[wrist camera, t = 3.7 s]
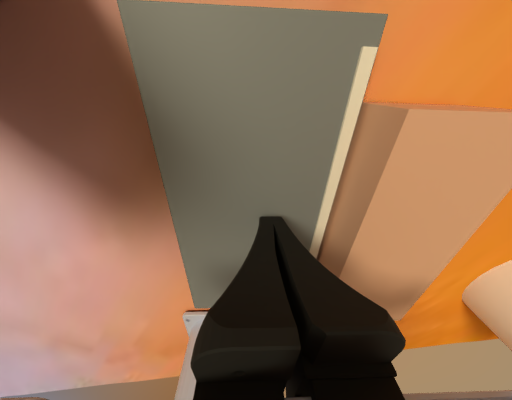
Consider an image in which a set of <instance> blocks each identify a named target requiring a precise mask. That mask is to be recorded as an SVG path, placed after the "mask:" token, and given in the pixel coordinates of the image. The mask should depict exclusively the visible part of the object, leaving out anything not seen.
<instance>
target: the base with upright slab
mask: <svg viewBox="0 0 512 400" xmlns="http://www.w3.org/2000/svg"><path fill="white" fill-rule="evenodd" d="M462 301H463V302H464V303H465V304H466V305H467V306H468V307H469V308H470V309H471V310H472V312H473V313H474V314H475V315H476V316H477V317H478V318H479V319H480V320H481V321H482V322H483V323H484V324H485V325H486V326H487V327H488V328H489V329H490V330H491V331H492V332H493V333H494V334H495V335H496V336H497V337H498V338H499V339H501V340H502V342H503V343H504V344H505V345H506V346H508V348H509V349H510V350H511V351H512V260H511V261H508V262H506V263H504V264H501V265H499V266H497V267H494V268H493V269H491V270H489V271H487V272H485V273H484V274H482V275H481V276H479V277H478V278H477V279H475V280H474V281H472V282H471V283H470V285H469V286H468V287H467V288H466V289H465V291H464V292H463V294H462Z"/></svg>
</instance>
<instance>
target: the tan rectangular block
mask: <svg viewBox="0 0 512 400" xmlns="http://www.w3.org/2000/svg"><path fill="white" fill-rule="evenodd" d="M511 188H512V109H500V108H488V107H475V106H463V105H436V104H407V103H378V102H362V105H361V109H360V112H359V116H358V119H357V122H356V126H355V129H354V133H353V136H352V140H351V143H350V146H349V150H348V153H347V157H346V160H345V164H344V167H343V170H342V174H341V177H340V181H339V184H338V187H337V191H336V194H335V198H334V201H333V205H332V208H331V211H330V215H329V218H328V222H327V225H326V229H325V232H324V235H323V239H322V242H321V246H320V249H319V252H318V256H317V260H318V261H319V262H320V263H321V264H322V265H323V266H324V267H326V268H327V269H328V270H329V271H330V272H332V273H333V274H334V275H335V276H337V277H338V278H339V279H340V280H342V281H343V282H344V283H346V284H347V285H349V286H350V287H351V288H353V289H354V290H356V291H357V292H359V293H360V294H362V295H363V296H365V297H366V298H368V299H370V300H371V301H373V302H374V303H376V304H378V305H379V306H381V307H383V308H384V309H386V310H387V312H388V313H389V314H390V316H391V317H392V319H393V320H401V319H402V318H403V317H404V315H405V314H406V313H407V312H408V311H409V309H410V308H411V307H412V306H413V305H414V303H415V302H416V301H417V300H418V299H419V298H420V296H421V295H422V294H423V293H424V292H425V290H426V289H427V288H428V287H429V286H430V284H431V283H432V282H433V281H434V280H435V279H436V277H437V276H438V275H439V274H440V273H441V271H442V270H443V269H444V268H445V267H446V266H447V264H448V263H449V262H450V261H451V260H452V258H453V257H454V256H455V255H456V254H457V252H458V251H459V250H460V249H461V248H462V247H463V245H464V244H465V243H466V242H467V241H468V239H469V238H470V237H471V236H472V235H473V233H474V232H475V231H476V230H477V229H478V228H479V226H480V225H481V224H482V223H483V222H484V220H485V219H486V218H487V217H488V216H489V214H490V213H491V212H492V211H493V210H494V209H495V207H496V206H497V205H498V204H499V203H500V201H501V200H502V199H503V198H504V197H505V196H506V194H507V193H508V192H509V191H510V190H511Z"/></svg>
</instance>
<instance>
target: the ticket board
mask: <svg viewBox="0 0 512 400" xmlns="http://www.w3.org/2000/svg"><path fill="white" fill-rule="evenodd" d="M117 3H118V7H119V11H120V15H121V19H122V23H123V27H124V31H125V35H126V39H127V42H128V46H129V50H130V54H131V58H132V62H133V66H134V70H135V74H136V78H137V82H138V86H139V90H140V94H141V98H142V102H143V106H144V109H145V113H146V117H147V121H148V125H149V129H150V133H151V137H152V141H153V145H154V149H155V153H156V157H157V161H158V165H159V169H160V173H161V177H162V180H163V184H164V188H165V192H166V196H167V200H168V204H169V208H170V212H171V216H172V220H173V224H174V228H175V232H176V236H177V240H178V244H179V247H180V251H181V255H182V259H183V263H184V267H185V271H186V275H187V279H188V283H189V287H190V291H191V295H192V299H193V303H194V307H195V308H211V307H212V306H213V305H214V304H215V302H216V301H217V300H218V299H219V298H220V296H221V295H222V294H223V293H224V291H225V290H226V289H227V287H228V286H229V285H230V283H231V282H232V280H233V279H234V278H235V276H236V274H237V273H238V271H239V270H240V268H241V266H242V265H243V263H244V261H245V259H246V257H247V255H248V253H249V251H250V249H251V247H252V244H253V242H254V240H255V237H256V234H257V230H258V226H259V218H260V217H261V216H281V217H282V218H283V219H284V221H285V222H286V224H287V225H288V227H289V228H290V229H291V231H292V232H293V233H294V235H295V236H296V237H297V238H298V240H299V241H300V242H301V243H302V244H303V246H304V247H305V248H306V249H307V250H308V251H309V252H310V253H311V254H312V255H313V256H314V257H315V258H316V259H317V256H318V252H319V249H320V246H321V242H322V239H323V235H324V232H325V229H326V225H327V222H328V218H329V215H330V211H331V208H332V205H333V201H334V198H335V194H336V191H337V187H338V184H339V181H340V177H341V174H342V170H343V167H344V164H345V160H346V157H347V153H348V150H349V146H350V143H351V140H352V136H353V133H354V129H355V126H356V122H357V119H358V116H359V112H360V109H361V105H362V102H363V99H364V95H365V92H366V88H367V85H368V81H369V78H370V75H371V71H372V68H373V64H374V61H375V57H376V54H377V51H378V47H379V44H380V40H381V37H382V34H383V30H384V27H385V23H386V20H387V16H388V14H377V13H359V12H340V11H322V10H304V9H286V8H268V7H250V6H231V5H213V4H195V3H177V2H159V1H141V0H117Z"/></svg>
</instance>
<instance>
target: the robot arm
mask: <svg viewBox="0 0 512 400" xmlns="http://www.w3.org/2000/svg"><path fill="white" fill-rule="evenodd" d="M183 320H184V323H185V326H186V329H187V332H188V335H189V341H188V345H187V349H186V354H185V358H184V362H183V366H182V370H181V374H180V378H179V382H178V387H177V391H176V395H175V399H174V400H512V390H505V391H475V392H444V393H415V394H402V392H401V390H400V388H399V386H398V384H397V382H396V380H395V378H394V377H396V376H397V373H396V371H395V369H394V367H393V365H392V363H391V361H392V360H393V359H394V358H395V357H396V356H397V355H398V354H399V353H400V352H401V351H402V350H403V349H404V347H405V341H406V340H405V338H404V337H403V335H402V333H401V332H400V330H399V328H398V327H397V325H396V323H395V322H394V320H393V319H392V317H391V316H390V314H389V313H388V312H387V310H386V309H384V308H383V307H381V306H379V305H378V304H376V303H374V302H373V301H371V300H370V299H368V298H366V297H365V296H363V295H362V294H360V293H359V292H357V291H356V290H354V289H353V288H351V287H350V286H349V285H347V284H346V283H344V282H343V281H342V280H340V279H339V278H338V277H337V276H335V275H334V274H333V273H332V272H330V271H329V270H328V269H327V268H326V267H324V266H323V265H322V264H321V263H320V262H319V261H318V260H317V259H316V258H315V257H314V256H313V255H312V254H311V253H310V252H309V251H308V250H307V249H306V248H305V247H304V246H303V244H302V243H301V242H300V241H299V240H298V238H297V237H296V236H295V235H294V233H293V232H292V231H291V229H290V228H289V227H288V225H287V224H286V222H285V221H284V219H283V218H282V217H281V216H261V217H260V218H259V226H258V230H257V234H256V237H255V240H254V242H253V244H252V247H251V249H250V251H249V253H248V255H247V257H246V259H245V261H244V263H243V265H242V266H241V268H240V270H239V271H238V273H237V274H236V276H235V278H234V279H233V280H232V282H231V283H230V285H229V286H228V287H227V289H226V290H225V291H224V293H223V294H222V295H221V296H220V298H219V299H218V300H217V301H216V302H215V304H214V305H213V306H212V307H211V308H210V310H209V311H206V312H185V313H184V314H183ZM285 386H286V398H284V393H283V392H284V389H285ZM0 400H48V399H45V398H39V397H26V398H1V399H0Z"/></svg>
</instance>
